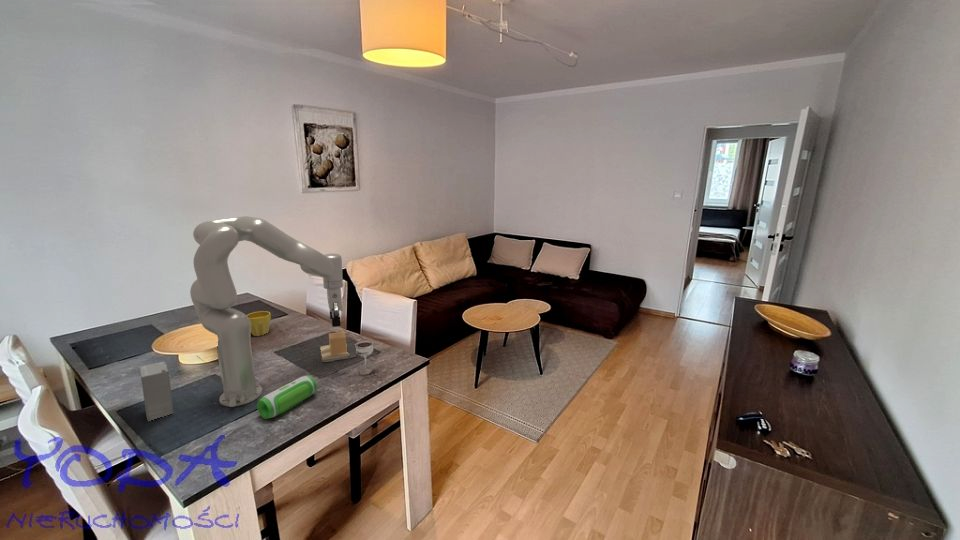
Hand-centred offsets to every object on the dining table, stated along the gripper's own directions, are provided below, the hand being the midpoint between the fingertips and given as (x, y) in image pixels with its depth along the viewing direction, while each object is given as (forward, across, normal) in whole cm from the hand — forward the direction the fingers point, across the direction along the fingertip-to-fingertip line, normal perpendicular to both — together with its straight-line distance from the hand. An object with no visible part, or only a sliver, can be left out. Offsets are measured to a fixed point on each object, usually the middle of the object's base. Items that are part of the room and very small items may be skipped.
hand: (335, 322), depth 158 cm
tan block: (+13, 0, -1) cm, 13 cm away
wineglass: (+15, -20, -9) cm, 27 cm away
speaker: (+16, -33, +18) cm, 41 cm away
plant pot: (+15, +38, +31) cm, 51 cm away
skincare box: (+16, -20, +55) cm, 61 cm away
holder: (+15, 0, -1) cm, 15 cm away
